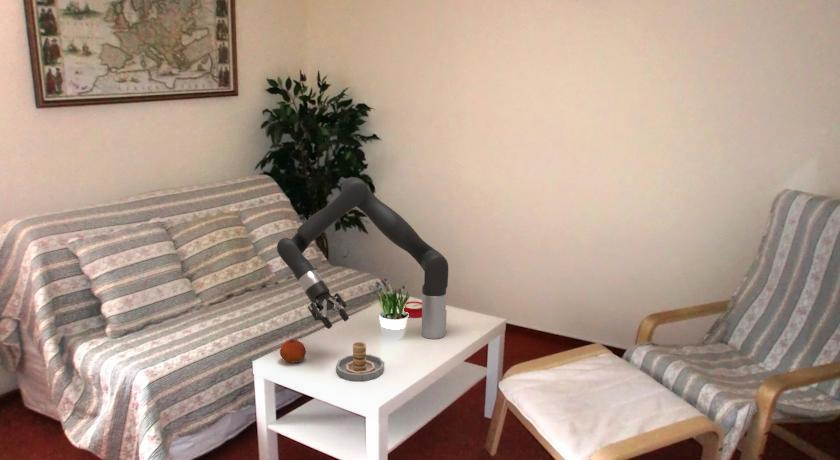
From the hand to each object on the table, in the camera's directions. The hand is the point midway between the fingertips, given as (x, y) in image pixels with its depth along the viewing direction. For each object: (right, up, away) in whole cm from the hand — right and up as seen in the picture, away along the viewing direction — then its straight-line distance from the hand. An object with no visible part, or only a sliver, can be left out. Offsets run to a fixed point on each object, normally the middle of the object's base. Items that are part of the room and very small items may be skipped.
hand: (338, 323), depth 227 cm
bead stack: (+7, -15, -2) cm, 17 cm away
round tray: (+8, -16, -1) cm, 18 cm away
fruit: (-17, -14, +5) cm, 23 cm away
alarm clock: (+27, -3, +52) cm, 59 cm away
